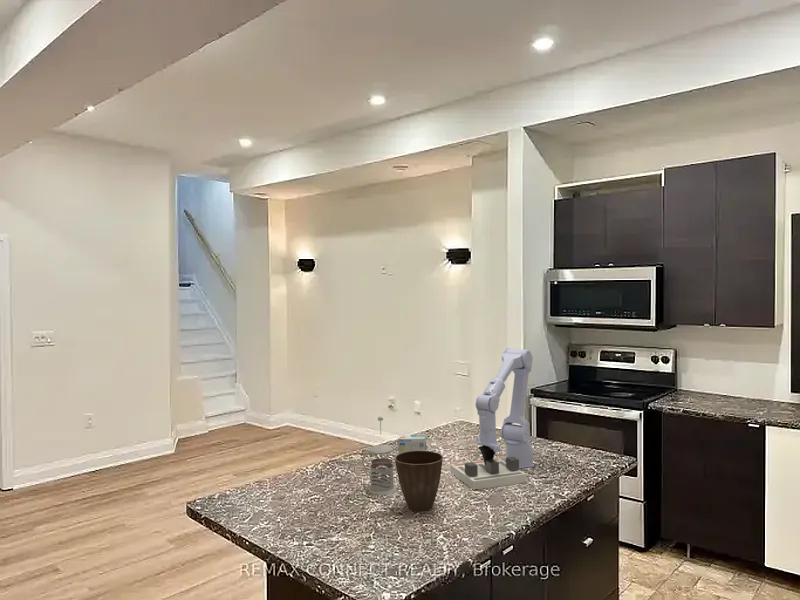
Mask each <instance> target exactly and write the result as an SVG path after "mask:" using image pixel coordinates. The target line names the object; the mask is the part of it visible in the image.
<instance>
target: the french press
mask: <svg viewBox="0 0 800 600" xmlns="http://www.w3.org/2000/svg"><path fill="white" fill-rule="evenodd" d="M377 421H379V427H380V430H379V431H380V434H382V421H384V418H383V416H378V417H377ZM393 450H394V448H392V447H391V446H390V445H388V444H383V443H380V444H375V445H374V446H372V447H371V448H369V452H368V453H366V455H364V456H363V458H362V461H361V466H362V470H363V472H364V473H365V474H366V475H368V476H369V479H370V487H369V488H368V489H369V491H368V493H370V492H371V493H370V494H373V493H374V494H373V495H379V494H380V495H389V494H392V493H395V492H396V491H397V489H396V488H397V486H395V485H394V483H395V482H394V481H395V480H394V465H393V460H392V459H390V458H389V457H388V458H386V457H383V454H384V455H386V454H390V453H392V452H393ZM372 454H376V455H380V457H379V458H374V459H372V460H371V462H370V463H371V466H370V471H368V470H367V468H366V467H365V459H366V457H367V456H369V458H370V459H371V458H372ZM383 466H384V467H383ZM377 467H378V468H377Z"/></svg>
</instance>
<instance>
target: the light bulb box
mask: <svg viewBox="0 0 800 600" xmlns="http://www.w3.org/2000/svg"><path fill="white" fill-rule="evenodd" d="M397 445H398V446H397V448H398V449H397V450H398V454H401V453H404V452H409V451H428V450H427V449H428V448H427V434H399V436H398V438H397Z"/></svg>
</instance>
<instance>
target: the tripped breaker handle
mask: <svg viewBox="0 0 800 600" xmlns="http://www.w3.org/2000/svg"><path fill="white" fill-rule="evenodd" d="M486 471H487V472H489V473H490V474H495V473H499V462H497V461H495V460H486Z"/></svg>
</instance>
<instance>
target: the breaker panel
mask: <svg viewBox="0 0 800 600" xmlns="http://www.w3.org/2000/svg"><path fill="white" fill-rule="evenodd" d="M493 460H495V461H497V462H499V473H495V474H490V473H489V472H487V471H486V467H485V463H484V459H482V460H476V461H475V460H474V461H468V462H459V463H452V464H450V465H449V466H450V467H449V470H450V472H451V473H450V474H452V475H453V476H454V475H455V476H454V477H455V478H457V479H459V480H460V481H461V482H462V483H463V482H464V484H465V485H466V484H467V485H468V487H469V488H470V487H471V488H472V490H473V491H476V490H475V489H478V490H484V489H483V488H485V489H490V488H491V487H492V488H497V486H499V487H504V486H505V485H506V486H511V485H512V484H513V485H519V484H524V483H525V484H526V483H527V473H526V472H524V471H522V470H520V468H519V460H518V459H517V458H515V457H507V458H506V457H505V460H503V459H502V458H499V457H498V458H493ZM467 485H466V486H467ZM471 488H470V489H471Z"/></svg>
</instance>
